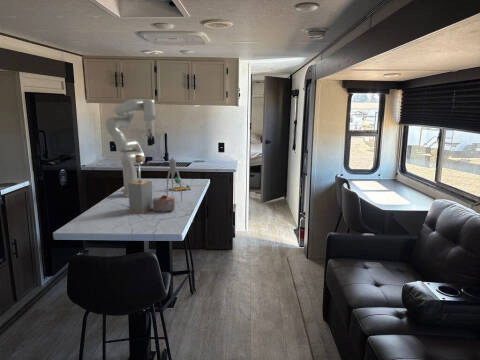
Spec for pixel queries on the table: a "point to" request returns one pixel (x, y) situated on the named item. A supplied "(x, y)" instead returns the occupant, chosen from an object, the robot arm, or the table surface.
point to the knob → (138, 161)
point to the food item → (163, 204)
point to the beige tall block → (140, 196)
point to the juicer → (172, 168)
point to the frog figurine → (179, 187)
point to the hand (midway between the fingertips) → (151, 144)
